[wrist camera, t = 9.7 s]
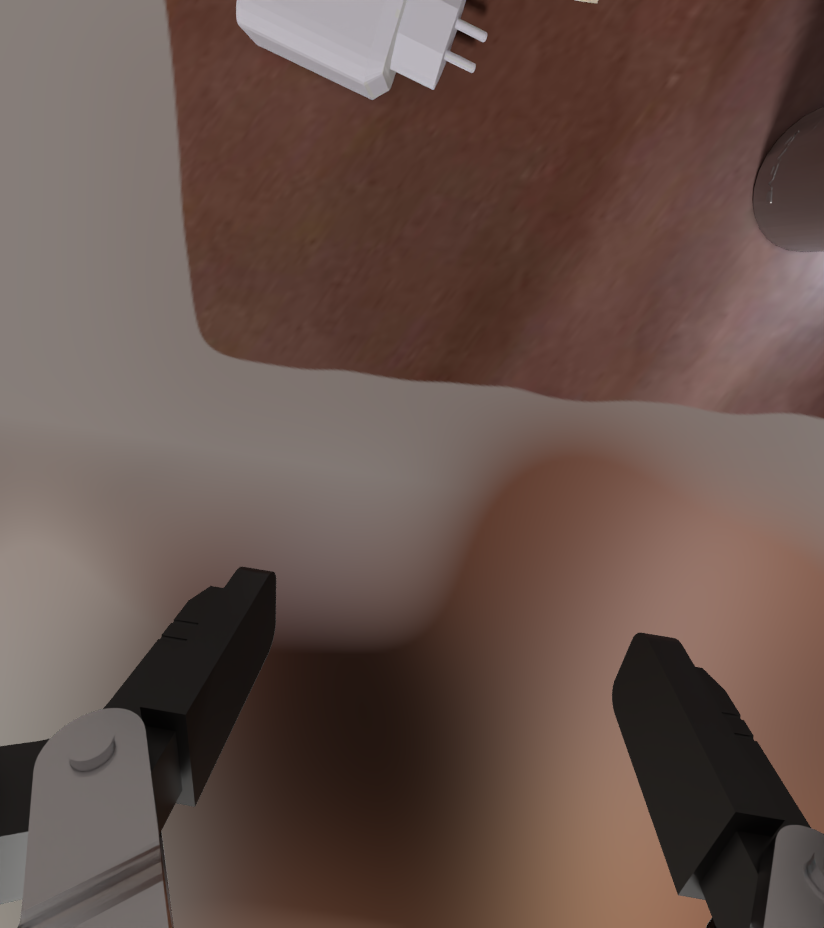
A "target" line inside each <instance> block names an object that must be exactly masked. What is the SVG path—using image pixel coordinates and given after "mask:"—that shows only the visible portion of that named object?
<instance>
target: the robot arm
mask: <svg viewBox="0 0 824 928" xmlns="http://www.w3.org/2000/svg"><path fill="white" fill-rule="evenodd" d="M753 207H754V214H755V218H756V221H757V223H758V226H759V229H760V230H761V231H762V233H763V234H764V235H765V237H766V238H767V239H768V240H770V241H771V242H772V243H774V244H775V245H776V246H779V247H781V248H784V249H786V250H791V251H798V252H814V251H824V107H822V108H819V109H817V110H815V111H814V112H812V113H810V114H808V115H806V116H804V117H803V118H801V119H800V120H799V121H798V122H796V123H795V124H794V125H792V126H791V127H790V128H789V129H788V130H787V131H786V132H785V133H784V134H783V135H782V136H781V137H780V138H779V139H778V140H777V141H776V143H775V144H774V146H773V147H772V149H771V150H770V151H769V153H768V154H767V156H766V158H765V160H764V162H763V164H762V166H761V168H760V170H759V173H758V176H757V180H756V183H755V187H754V197H753ZM275 625H276V575H275V573H274V572H271V571H265V570H259V569H252V568H247V567H240V568H239V569H237V570H236V572H235V573H234V575H233V576H232V577H231V579H230V580H229V582H228V583H227V585H226V586H225V587H224V588H219V587H213V586H210V587H209V588H207V589H206V590H204V591H202V592H201V593H200V594H198V595H196V596H195V597H193V598H192V599H190V600H189V601H188V602H187V603H186V605H185V606H184V607H183V609H182V610H181V612H180V613H179V614H178V615H177V616H176V618H175V619H174V622H173V623H171V624H170V625H169V626H168V628H167V629H166V630H165V631H164V633H163V634H162V637H161V639H158V640H157V642H156V643H155V644H154V646H153V647H152V648H151V650H150V651H149V652H148V653H147V654H146V656H145V657H144V658H143V659H142V661H141V662H140V663H139V665H138V666H137V667H136V669H135V670H134V671H133V672H132V674H131V675H130V676H129V678H128V679H127V680H126V681H125V682H124V684H123V685H122V686H121V687H120V689H119V690H118V691H117V693H116V694H115V695H114V697H113V698H112V699H111V700H110V702H109V703H108V704H107V705H106V706H105V707H104V708H103V709H100V710H97V711H93V712H91V713H88V714H85V715H83V716H81V717H79V718H77V719H75V720H73V721H72V722H70V723H68V724H67V725H65V726H64V727H63V728H61V729H60V730H59V731H58V732H57V733H56V734H54V735H53V736H52V737H51V738H50V739H47V740H42V741H37V742H30V743H22V744H15V745H7V746H1V747H0V904H4V903H8V902H13V901H17V900H21V899H23V902H22V911H21V918H20V923H19V926H18V928H174V925H173V917H172V909H171V902H170V894H169V886H168V878H167V871H166V863H165V855H164V847H163V839H162V832H161V830H162V828H163V827H164V825H165V823H166V821H167V819H168V817H169V815H170V813H171V811H172V809H173V807H174V805H175V803H177V804H183V805H188V806H196V804H197V802H198V800H199V797H200V795H201V793H202V791H203V789H204V787H205V785H206V783H207V781H208V778H209V777H210V774H211V772H212V770H213V768H214V766H215V764H216V762H217V759H218V758H219V755H220V754H221V751H222V749H223V747H224V745H225V743H226V741H227V739H228V737H229V735H230V733H231V731H232V728H233V726H234V724H235V722H236V720H237V718H238V716H239V714H240V711H241V709H242V707H243V705H244V703H245V701H246V699H247V697H248V695H249V693H250V691H251V689H252V687H253V684H254V682H255V680H256V678H257V676H258V674H259V672H260V670H261V668H262V666H263V663H264V661H265V659H266V657H267V655H268V653H269V650H270V647H271V645H272V641H273V637H274V631H275ZM612 691H613V692H612V702H613V709H614V713H615V715H616V718H617V721H618V724H619V727H620V730H621V733H622V736H623V739H624V742H625V744H626V747H627V750H628V753H629V756H630V759H631V762H632V765H633V767H634V770H635V773H636V776H637V778H638V782H639V785H640V787H641V790H642V793H643V796H644V799H645V801H646V805H647V807H648V810H649V813H650V816H651V819H652V822H653V824H654V827H655V830H656V833H657V836H658V839H659V842H660V845H661V847H662V850H663V853H664V856H665V859H666V862H667V864H668V867H669V870H670V873H671V876H672V879H673V882H674V885H675V888H676V890H677V893H678V895H681V896H686V897H692V898H698V899H703V900H706V902H707V905H708V908H709V910H710V913H711V915H712V918H711V920H710V921H709V922H708V924H707V926H706V928H824V834H822V833H820V832H818V831H817V830H814V829H811V827H810V826H809V824H808V822H807V821H806V819H805V818H804V816H803V814H802V813H801V811H800V810H799V808H798V806H797V805H796V803H795V802H794V800H793V798H792V797H791V795H790V794H789V792H788V790H787V789H786V787H785V786H784V784H783V782H782V781H781V779H780V777H779V776H778V774H777V773H776V771H775V769H774V768H773V766H772V765H771V763H770V762H769V760H768V758H767V757H766V755H765V754H764V752H763V750H762V749H761V747H760V746H759V744H758V742H757V741H754V740H753V734H752V733H751V731H750V730H749V728H748V726H747V725H746V723H745V722H744V720H741V719H740V714H739V712H738V710H737V709H736V707H735V705H734V704H733V702H732V701H731V699H730V698H729V696H728V694H727V693H726V691H725V690H724V689H723V688H722V687H721V686H720V685H719V684H718V683H717V682H716V681H715V680H714V679H713V678H712V677H711V676H710V675H708V673H707V672H706V671H705V670H704V669H703V668H698V667H695V666H694V664H693V663H692V661H691V659H690V658H689V656H688V654H687V653H686V651H685V649H684V647H683V646H682V644H681V643H680V642H679V641H678V640H677V639H675V638H670V637H664V636H658V635H652V634H645V633H637V634H636V635H635V636H634V637H633V639H632V641H631V644H630V646H629V648H628V651H627V653H626V655H625V658H624V660H623V662H622V665H621V667H620V669H619V672H618V674H617V676H616V679H615V681H614V685H613V690H612Z"/></svg>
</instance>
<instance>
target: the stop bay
mask: <svg viewBox="0 0 824 928" xmlns="http://www.w3.org/2000/svg"><path fill="white" fill-rule="evenodd" d="M574 1H582V2H590V3H597V2H598V0H574Z"/></svg>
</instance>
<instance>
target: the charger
mask: <svg viewBox="0 0 824 928" xmlns="http://www.w3.org/2000/svg"><path fill="white" fill-rule="evenodd" d="M465 2H466V0H237V5H236V16H237V22H238V25H239V26H240V27H241V28H242V29H243V30H244V31H245V32H246V34H247V35H248V36H249V37H250V38H251V39H252V40H253V41H254V42H255V43H256V44H257V45H258V46H261V47H263V48H265V49H267V50H269V51H271V52H273V53H275V54H277V55H279V56H281V57H284V58H286V59H288V60H290V61H292V62H294V63H296V64H298V65H300V66H302V67H304V68H306V69H309V70H311V71H313V72H315V73H317V74H319V75H321V76H323V77H325V78H327V79H329V80H332V81H334V82H336V83H338V84H340V85H342V86H344V87H346V88H348V89H350V90H352V91H354V92H357V93H359V94H361V95H363V96H365V97H367V98H369V99H371V100H373V99H375V98H377V97H378V96H380V95H382V94H384V93H385V92H387V91H389V90H390V88H391V86H392V83H393V80H394V77H395V74H396V72H397V73H400V74H402V75H404V76H406V77H408V78H410V79H412V80H414V81H416V82H418V83H420V84H422V85H424V86H426V87H428V88H430V89H432V90H434V89H435V87H436V85H437V83H438V81H439V78H440V76H441V74H442V71H443V69H444V66H445V64H446V61H448V62H450V63H452V64H454V65H456V66H458V67H460V68H462V69H464V70H466V71H468V72H470V73H473V72H474V71H475V68H476V65H475V63H473V62H471V61H469V60H467V59H465V58H463V57H461V56H459V55H457V54H455V53H453V52H451V51H450V49H451V46H452V43H453V41H454V38H455V35H456V32H457V30H459V31H461V32H463V33H465V34H467V35H469V36H471V37H473V38H475V39H477V40H479V41H481V42H485V41H486V39H487V32H485V31H483V30H481V29H479V28H477V27H475V26H473V25H471V24H469V23H467V22H465V21H463V20H461V16H462V12H463V9H464V6H465Z"/></svg>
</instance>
